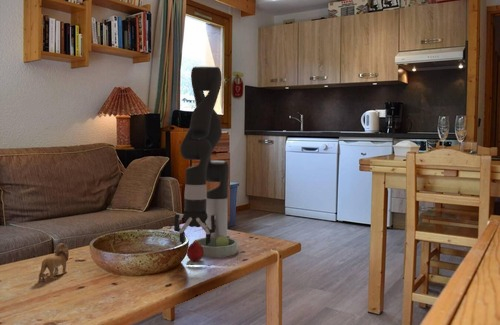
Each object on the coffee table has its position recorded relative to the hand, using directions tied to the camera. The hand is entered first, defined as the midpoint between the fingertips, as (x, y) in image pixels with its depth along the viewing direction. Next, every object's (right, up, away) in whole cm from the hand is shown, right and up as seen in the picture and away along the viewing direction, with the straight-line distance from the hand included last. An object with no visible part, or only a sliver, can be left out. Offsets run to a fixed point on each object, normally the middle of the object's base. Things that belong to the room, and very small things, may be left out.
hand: (195, 244), depth 150 cm
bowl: (+6, -6, +13) cm, 16 cm away
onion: (0, -7, +1) cm, 7 cm away
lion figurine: (-42, -7, -15) cm, 45 cm away
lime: (+8, -5, +16) cm, 19 cm away
